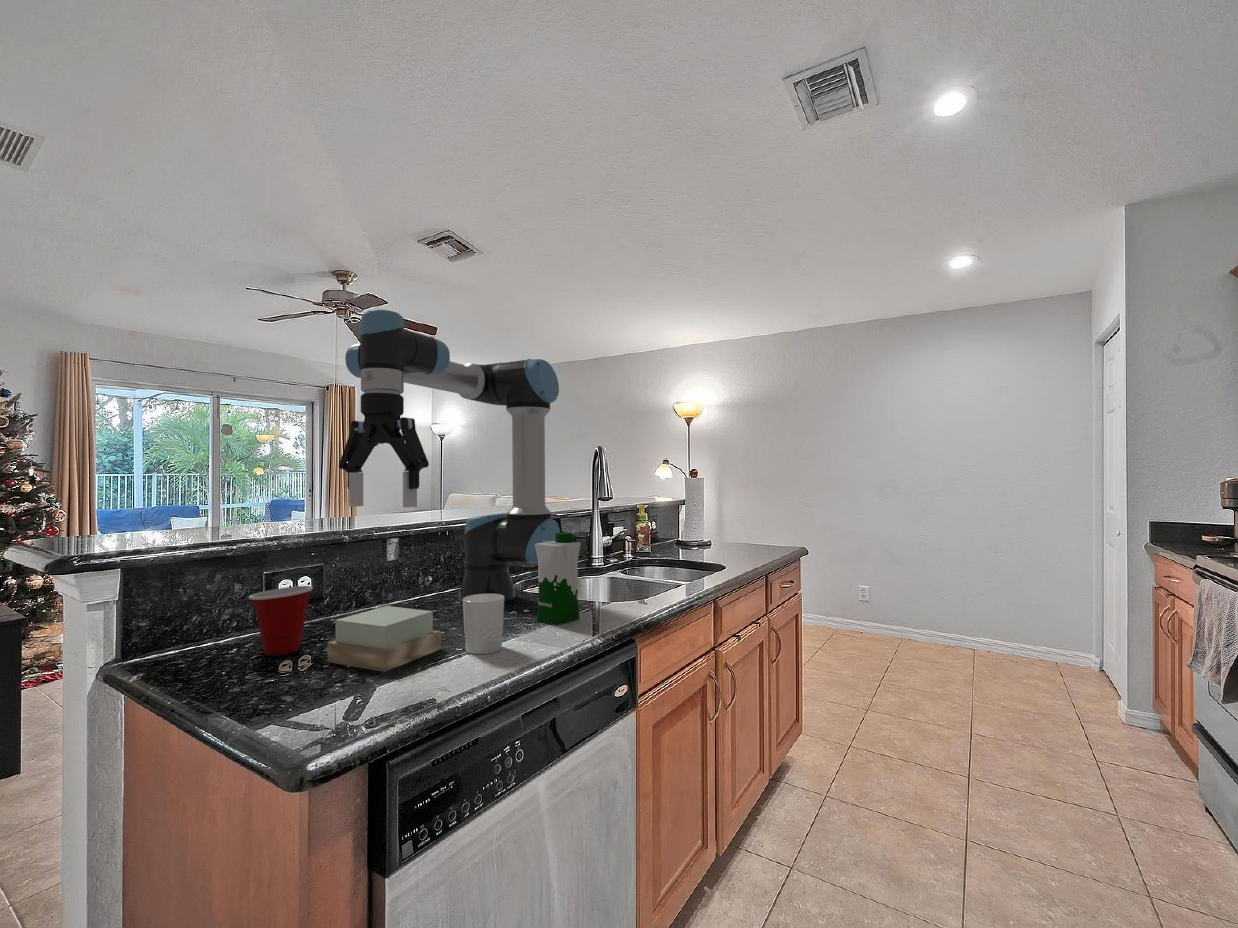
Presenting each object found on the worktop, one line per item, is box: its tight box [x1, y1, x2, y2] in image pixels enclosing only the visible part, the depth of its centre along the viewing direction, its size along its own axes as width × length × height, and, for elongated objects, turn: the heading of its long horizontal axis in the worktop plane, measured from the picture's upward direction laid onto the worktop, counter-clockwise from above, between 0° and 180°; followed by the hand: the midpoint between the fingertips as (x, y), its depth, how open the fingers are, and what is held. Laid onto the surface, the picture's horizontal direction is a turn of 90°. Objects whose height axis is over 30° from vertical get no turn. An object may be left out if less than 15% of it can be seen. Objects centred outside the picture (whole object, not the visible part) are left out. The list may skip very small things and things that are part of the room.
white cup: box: [462, 594, 505, 655], centre depth 110 cm, size 8×8×10 cm
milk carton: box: [535, 532, 581, 626], centre depth 132 cm, size 9×9×20 cm
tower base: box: [326, 629, 442, 673], centre depth 107 cm, size 14×14×4 cm
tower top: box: [335, 605, 434, 649], centre depth 107 cm, size 12×12×4 cm
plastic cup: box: [248, 585, 313, 657], centre depth 110 cm, size 11×11×12 cm
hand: (382, 506), depth 106 cm, fingers open, 13 cm apart
